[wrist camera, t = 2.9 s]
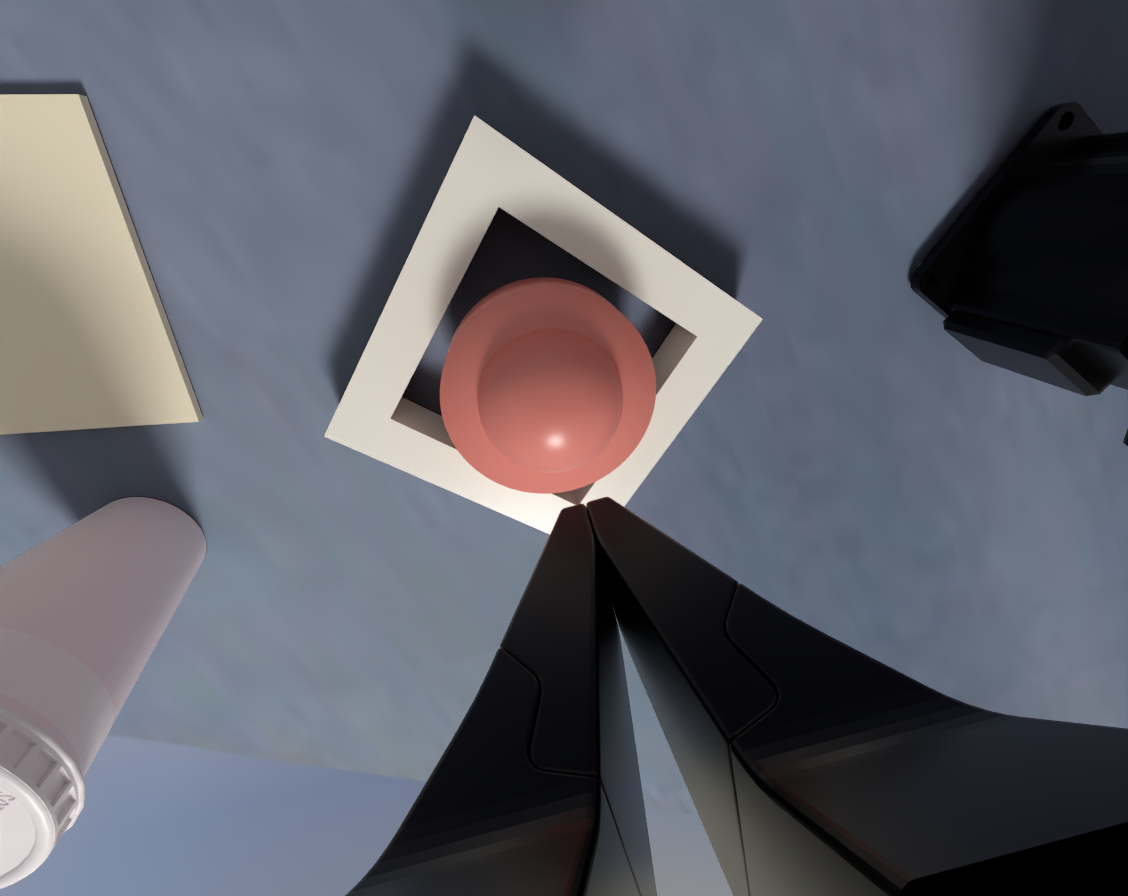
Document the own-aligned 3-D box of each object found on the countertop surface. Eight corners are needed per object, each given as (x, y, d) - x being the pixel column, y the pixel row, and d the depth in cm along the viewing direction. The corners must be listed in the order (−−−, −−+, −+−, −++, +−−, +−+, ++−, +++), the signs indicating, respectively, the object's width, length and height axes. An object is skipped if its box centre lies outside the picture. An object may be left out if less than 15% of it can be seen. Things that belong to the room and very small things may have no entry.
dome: (506, 234, 14) (510, 247, 10) (675, 342, 16) (727, 384, 12) (412, 412, 16) (389, 475, 12) (574, 489, 18) (594, 562, 14)
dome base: (476, 124, 15) (474, 114, 13) (735, 306, 18) (762, 319, 16) (340, 412, 18) (323, 436, 16) (582, 521, 21) (590, 551, 19)
